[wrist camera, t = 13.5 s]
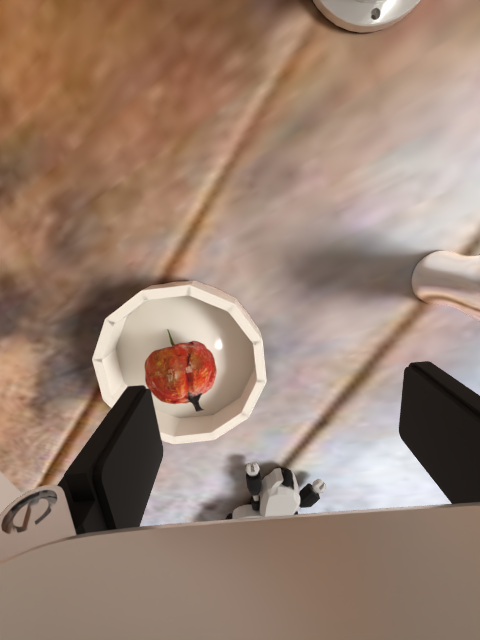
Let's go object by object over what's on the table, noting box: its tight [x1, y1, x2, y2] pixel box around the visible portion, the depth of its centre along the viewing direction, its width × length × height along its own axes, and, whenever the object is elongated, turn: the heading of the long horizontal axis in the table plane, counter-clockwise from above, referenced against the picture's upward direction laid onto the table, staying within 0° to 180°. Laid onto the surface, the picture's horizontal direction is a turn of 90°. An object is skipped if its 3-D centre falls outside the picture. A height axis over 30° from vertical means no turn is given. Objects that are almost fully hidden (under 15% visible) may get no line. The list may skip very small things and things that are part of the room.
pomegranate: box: [144, 329, 217, 412], centre depth 30 cm, size 7×7×10 cm
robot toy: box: [224, 462, 326, 520], centre depth 39 cm, size 12×4×15 cm
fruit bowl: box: [92, 280, 267, 444], centre depth 32 cm, size 18×18×4 cm
